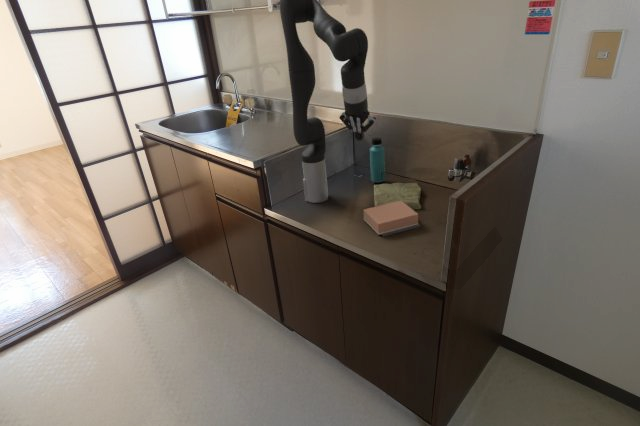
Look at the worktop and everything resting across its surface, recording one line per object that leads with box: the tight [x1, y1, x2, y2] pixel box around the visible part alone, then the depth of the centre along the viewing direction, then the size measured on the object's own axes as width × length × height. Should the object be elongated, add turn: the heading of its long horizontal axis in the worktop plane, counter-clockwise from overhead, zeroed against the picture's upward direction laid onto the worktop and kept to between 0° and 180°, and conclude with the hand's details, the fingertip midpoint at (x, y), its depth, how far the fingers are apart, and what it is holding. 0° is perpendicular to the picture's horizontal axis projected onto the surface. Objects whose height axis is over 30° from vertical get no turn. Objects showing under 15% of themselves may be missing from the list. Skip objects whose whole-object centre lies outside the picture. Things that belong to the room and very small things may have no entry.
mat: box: [380, 223, 420, 237], centre depth 136 cm, size 14×13×1 cm
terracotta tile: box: [363, 201, 419, 235], centre depth 135 cm, size 4×12×15 cm
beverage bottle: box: [369, 137, 387, 183], centre depth 164 cm, size 6×7×20 cm
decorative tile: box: [373, 182, 422, 210], centre depth 153 cm, size 19×20×4 cm
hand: (359, 139), depth 134 cm, fingers closed
